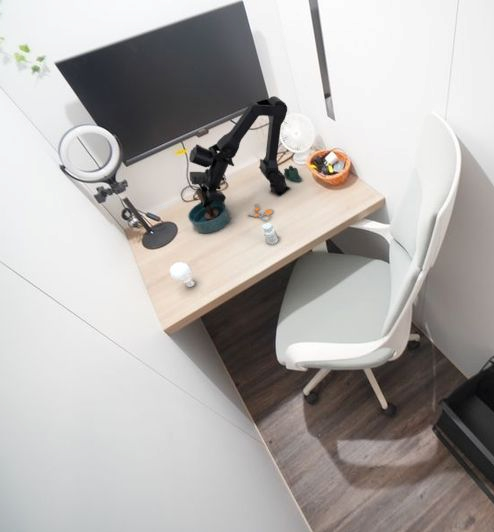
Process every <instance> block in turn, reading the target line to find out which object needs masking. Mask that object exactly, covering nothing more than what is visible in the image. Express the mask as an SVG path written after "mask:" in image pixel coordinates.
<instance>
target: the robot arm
mask: <svg viewBox="0 0 494 532" xmlns="http://www.w3.org/2000/svg"><path fill="white" fill-rule="evenodd" d="M287 113H288V106H287V104H286V103H285V102H284V101H283V100H282V99H280V98H279V97H278V96H276V95H275V96H270V97H269V98H262V99H260V100H257V101H250V102H249V104H248V107H247V108H246V109H245V110H244V112H243V113H242V115H241V116H240V117H239V118H238V120H237V121H236V123H235V125H234V126H233V127H232V128H231V130H230V131H229V132H227V133H225V134H223V135H222V137H220V138H219V139H218V140H217V142H216V143H215V144H213V145H211V146H209V147H208V148H206V147H203V146H202V145H200V144H195V146H194V147H193V148H192V149H191V150H190V153H189V158H188V159H189V160H188V161H189V163H192V164H194V165H197V166H200V167H202V168H206V169H204V171H189V181H190V183H191V184H192V185H195V186H197V185H198V186H199V189H201V190H202V191H203V193H204V195H205V198H204V202H203V207H204V208H206V207H207V206H208V205H209V204H211V203H212V202H213V201H215V200H216V201H220V202H224V203H225V201H226V198H227V197H226V196H225V194H224V192H223V191H221V189H222V187H221V183H222V181H225V179H226V178H225V173H226V172H227V168H228V167H229V166H231V167H235V163H234V162H233V161H234V160H233V159H234V158H235V157H236V154H237V153H238V151H239V149H240V146H241V142H242V140H243V138H244V137H245V136H246V134H247V133H248V132H249V131H250V129H251V128H252V126H253V125H254V123H255V122H256V121H257V120H258V118H259V117H262V116H264V117H267V118H268V127H267V128H268V129H267V139H266V148H265V156H264V158H263V159H261V158H260V159H259V167H258V168H259V170H260V172H261V174H262V175H263V176H264V178H265V179H266V180H267V181H268V182H269V188H270V192H271V193H272V194H275V195H277V196H278V197H281V196H282V195H283V194H285V193H287V192H288V191H289V190H290V189H291V188H290V186H288V184H287V181H286V177H285V175H284V173H283V172H282V171H281V170H280V169H279V164H278V153H279V145H280V136H281V128H282V124H283V123H284V121H285V120H286V117H287ZM200 203H201V204H202V202H201V201H200Z"/></svg>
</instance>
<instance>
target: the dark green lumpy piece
mask: <svg viewBox="0 0 494 532" xmlns="http://www.w3.org/2000/svg"><path fill="white" fill-rule="evenodd" d="M283 171H284V172H283V175H284V176H285V180H287V181H290V182H292V183H301V182H303V181H302V177H301V176H300V173H299V171H298V168H297V167H294V166H293V165H289V166H288V168H286V167H285V168H284V170H283Z"/></svg>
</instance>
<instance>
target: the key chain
mask: <svg viewBox="0 0 494 532" xmlns="http://www.w3.org/2000/svg"><path fill="white" fill-rule="evenodd" d="M254 207H255V208H254V211H255V213H248V216H250V217H254V218H260V219H261V220H263V221H264V222H268V221H269V220H270V219H271V218H272V216H271V215H272V214H273V210H272V209H267V210H265V211H264V213H262V212H259V213H257V212H258V211H259V210H260V207H259V205H258V204H257V203H255V204H254ZM264 216H268V218H267V219H265V218H263V217H264Z"/></svg>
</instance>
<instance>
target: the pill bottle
mask: <svg viewBox="0 0 494 532" xmlns="http://www.w3.org/2000/svg"><path fill="white" fill-rule="evenodd" d="M262 230H263V236H264V237H265V240H266V242H267V244H269V245H274V244H275V245H276V243H278V241H279V237H278V234H277V232H276V231H277V230H276V229H275V227H274V226H273V225H272V223H270V222H266V223H264V224H263V225H262Z"/></svg>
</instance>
